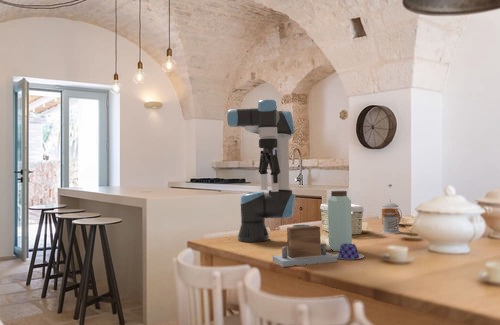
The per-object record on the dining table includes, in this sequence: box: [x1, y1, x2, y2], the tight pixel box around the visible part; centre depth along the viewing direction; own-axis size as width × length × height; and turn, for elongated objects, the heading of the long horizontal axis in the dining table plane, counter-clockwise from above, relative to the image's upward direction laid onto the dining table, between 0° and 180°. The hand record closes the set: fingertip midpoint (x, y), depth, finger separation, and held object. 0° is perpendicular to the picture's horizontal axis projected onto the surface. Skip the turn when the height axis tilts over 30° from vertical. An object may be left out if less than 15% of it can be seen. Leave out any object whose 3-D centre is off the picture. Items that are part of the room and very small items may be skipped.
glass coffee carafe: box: [381, 207, 402, 225], centre depth 274 cm, size 9×12×9 cm
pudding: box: [334, 243, 365, 261], centre depth 187 cm, size 12×12×5 cm
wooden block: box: [286, 225, 322, 258], centre depth 182 cm, size 4×12×11 cm, turn 106°
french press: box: [381, 183, 403, 235], centre depth 246 cm, size 10×12×25 cm
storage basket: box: [319, 203, 364, 235], centre depth 251 cm, size 24×16×15 cm
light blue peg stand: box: [272, 243, 338, 268], centre depth 182 cm, size 11×22×6 cm, turn 106°
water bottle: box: [327, 190, 353, 252], centre depth 203 cm, size 10×10×25 cm
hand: (269, 190), depth 192 cm, fingers open, 13 cm apart
